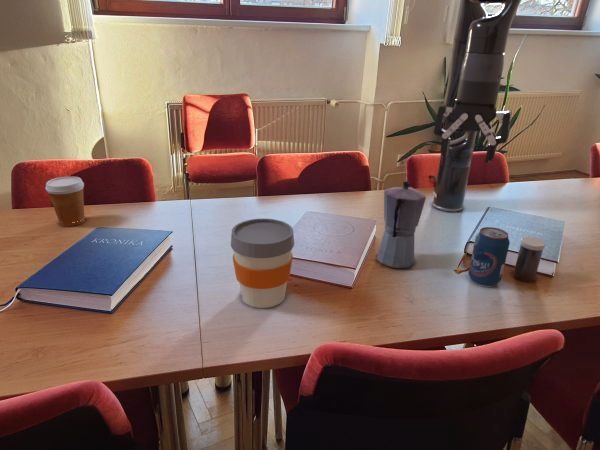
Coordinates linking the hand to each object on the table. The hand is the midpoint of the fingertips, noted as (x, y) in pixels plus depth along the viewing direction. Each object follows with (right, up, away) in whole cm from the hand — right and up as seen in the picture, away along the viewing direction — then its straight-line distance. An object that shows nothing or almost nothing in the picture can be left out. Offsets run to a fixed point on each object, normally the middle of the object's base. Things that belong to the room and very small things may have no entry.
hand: (465, 158), depth 93 cm
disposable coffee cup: (-99, -13, +32) cm, 105 cm away
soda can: (+7, -27, +8) cm, 28 cm away
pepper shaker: (+17, -26, +10) cm, 32 cm away
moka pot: (-11, -23, +15) cm, 30 cm away
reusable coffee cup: (-42, -29, 0) cm, 51 cm away
